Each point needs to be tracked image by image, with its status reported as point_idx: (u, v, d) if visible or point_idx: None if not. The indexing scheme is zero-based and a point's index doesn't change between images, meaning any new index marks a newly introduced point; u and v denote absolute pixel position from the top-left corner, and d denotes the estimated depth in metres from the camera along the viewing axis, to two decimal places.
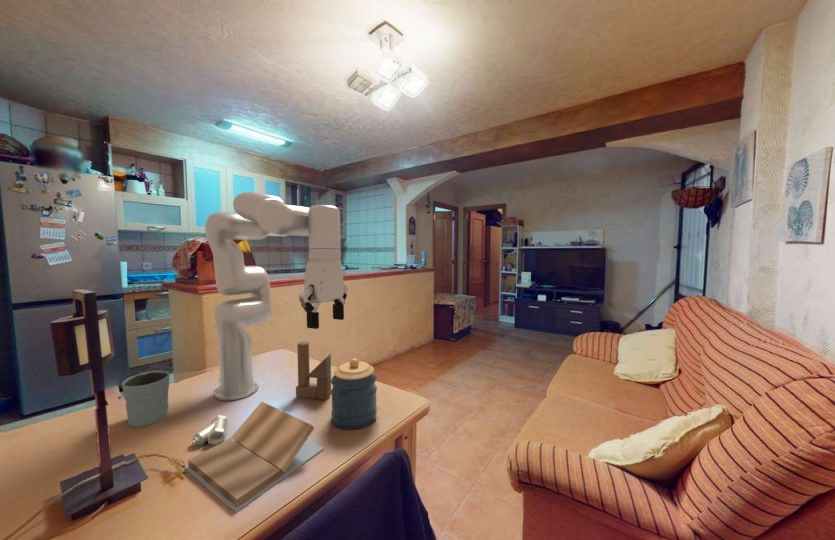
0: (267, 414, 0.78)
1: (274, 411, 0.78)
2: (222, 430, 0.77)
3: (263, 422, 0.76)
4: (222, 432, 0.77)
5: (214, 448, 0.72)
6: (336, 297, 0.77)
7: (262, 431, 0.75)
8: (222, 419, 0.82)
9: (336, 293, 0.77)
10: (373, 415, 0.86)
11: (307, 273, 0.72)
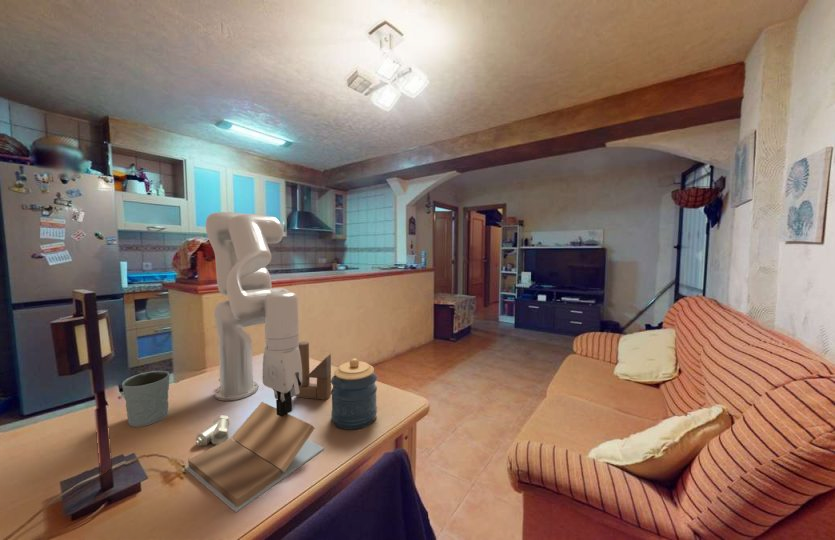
0: (267, 414, 0.78)
1: (274, 411, 0.78)
2: (225, 430, 0.77)
3: (263, 423, 0.76)
4: (226, 432, 0.77)
5: (214, 448, 0.72)
6: None
7: (263, 431, 0.75)
8: (224, 419, 0.82)
9: None
10: (373, 415, 0.86)
11: (290, 363, 0.72)
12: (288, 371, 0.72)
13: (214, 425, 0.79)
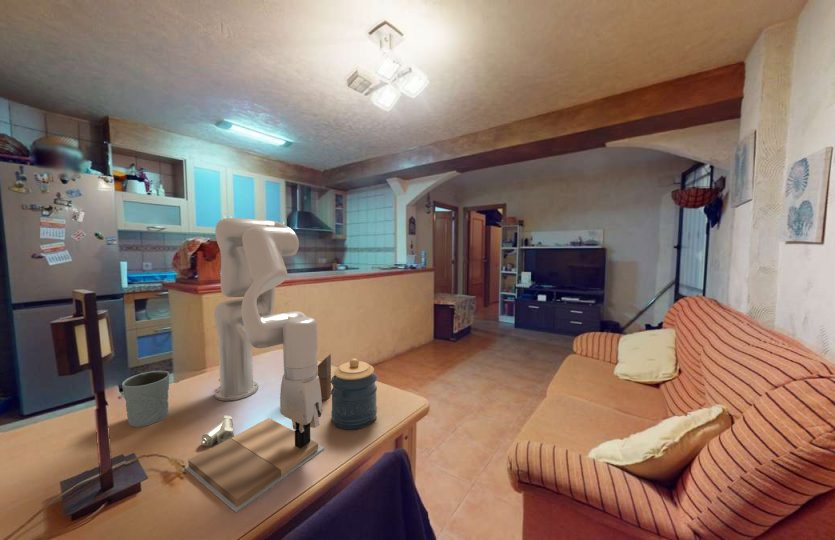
0: (273, 428, 0.80)
1: (280, 426, 0.80)
2: (231, 429, 0.78)
3: (268, 433, 0.78)
4: (231, 431, 0.77)
5: (214, 448, 0.72)
6: None
7: (266, 438, 0.75)
8: (228, 419, 0.82)
9: None
10: (373, 415, 0.86)
11: (310, 394, 0.69)
12: (308, 402, 0.68)
13: (219, 425, 0.79)
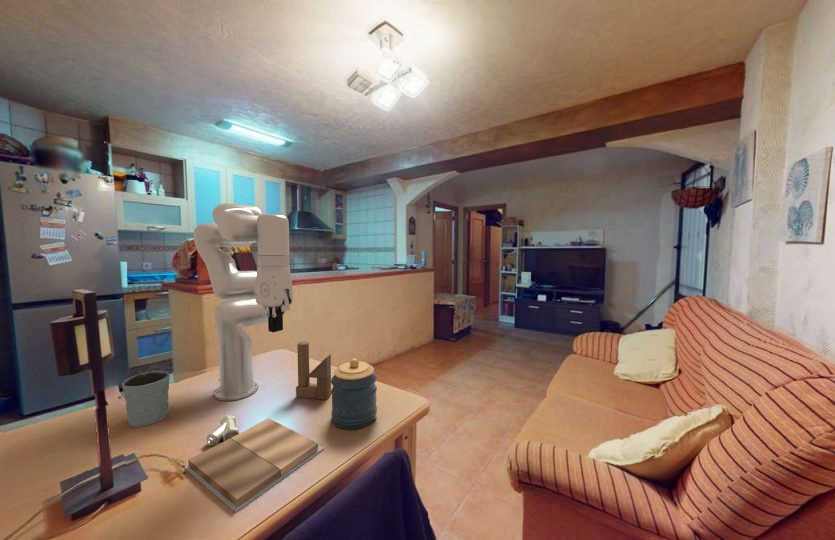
0: (273, 428, 0.80)
1: (280, 427, 0.80)
2: (236, 428, 0.78)
3: (268, 433, 0.78)
4: (237, 430, 0.78)
5: (214, 448, 0.72)
6: None
7: (266, 439, 0.75)
8: (232, 419, 0.82)
9: None
10: (373, 415, 0.86)
11: (281, 279, 0.77)
12: (279, 286, 0.76)
13: (223, 425, 0.79)
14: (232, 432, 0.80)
